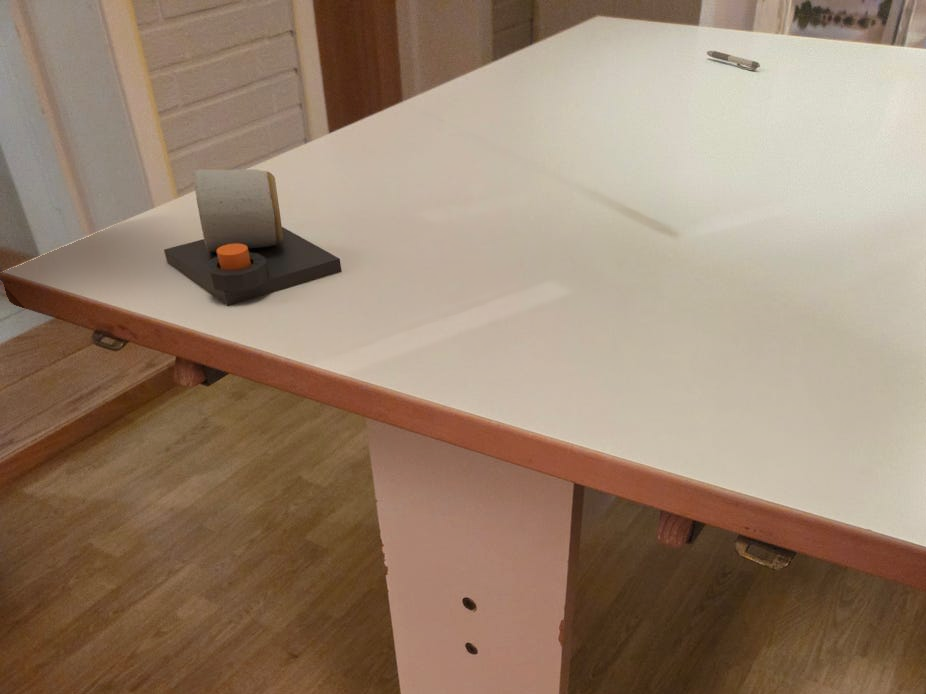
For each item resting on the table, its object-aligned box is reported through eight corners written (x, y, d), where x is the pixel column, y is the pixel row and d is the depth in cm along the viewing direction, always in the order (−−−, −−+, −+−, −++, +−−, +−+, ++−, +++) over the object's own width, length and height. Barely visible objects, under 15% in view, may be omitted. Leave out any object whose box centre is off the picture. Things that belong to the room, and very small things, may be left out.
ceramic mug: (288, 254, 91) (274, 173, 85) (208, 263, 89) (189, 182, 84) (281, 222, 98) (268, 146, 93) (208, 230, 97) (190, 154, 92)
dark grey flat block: (163, 263, 94) (155, 234, 92) (274, 233, 99) (269, 205, 97) (227, 311, 84) (220, 280, 82) (346, 274, 90) (342, 245, 88)
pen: (756, 72, 149) (757, 62, 148) (703, 58, 158) (704, 49, 157) (760, 71, 150) (762, 62, 149) (708, 58, 159) (709, 48, 158)
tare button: (215, 266, 86) (211, 248, 85) (243, 259, 87) (239, 240, 86) (228, 275, 84) (224, 257, 83) (256, 267, 85) (252, 249, 84)
